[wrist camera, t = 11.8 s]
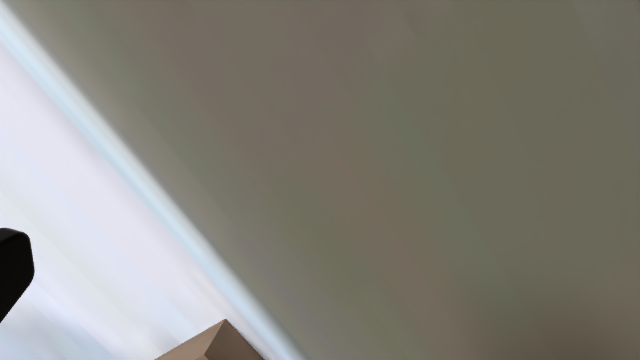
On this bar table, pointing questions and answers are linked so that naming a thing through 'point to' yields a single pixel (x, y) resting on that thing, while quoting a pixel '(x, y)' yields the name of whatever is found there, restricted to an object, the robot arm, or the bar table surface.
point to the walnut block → (214, 346)
